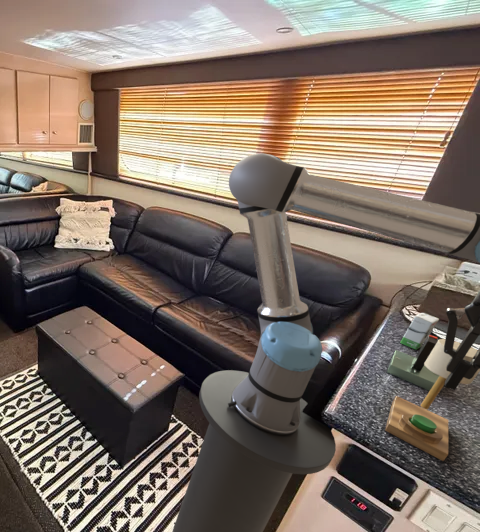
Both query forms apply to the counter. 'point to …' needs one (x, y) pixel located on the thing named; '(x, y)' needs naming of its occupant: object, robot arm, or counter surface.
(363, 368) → the counter surface
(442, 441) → the lamp base
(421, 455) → the counter surface
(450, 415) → the counter surface
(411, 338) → the ink box
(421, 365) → the black thin upright slab
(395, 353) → the dimmer
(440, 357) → the lamp
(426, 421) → the lamp button
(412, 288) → the counter surface
